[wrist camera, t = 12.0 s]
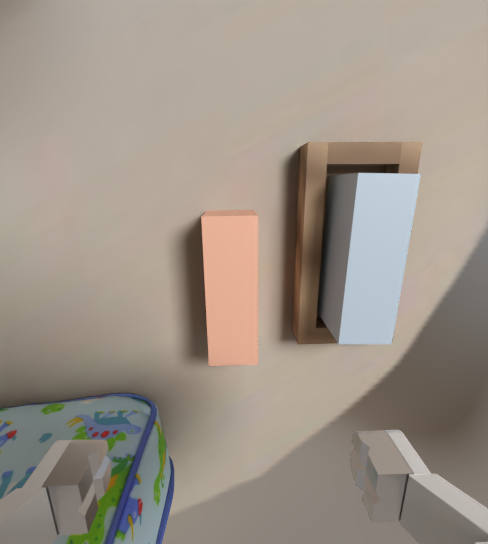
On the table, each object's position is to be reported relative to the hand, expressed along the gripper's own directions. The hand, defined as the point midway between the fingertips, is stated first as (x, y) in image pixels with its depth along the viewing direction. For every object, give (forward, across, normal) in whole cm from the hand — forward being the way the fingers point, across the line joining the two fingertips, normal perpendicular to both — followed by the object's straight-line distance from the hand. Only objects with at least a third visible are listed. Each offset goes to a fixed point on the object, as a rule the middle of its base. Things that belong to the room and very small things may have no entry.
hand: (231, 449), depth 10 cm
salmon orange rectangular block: (+18, 0, 0) cm, 18 cm away
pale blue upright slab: (+18, -10, -3) cm, 20 cm away
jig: (+18, -10, -3) cm, 21 cm away
